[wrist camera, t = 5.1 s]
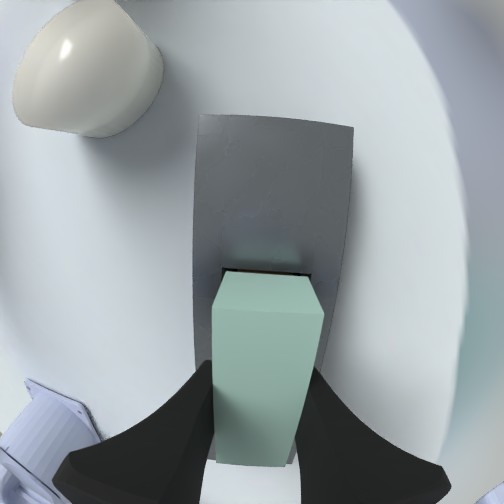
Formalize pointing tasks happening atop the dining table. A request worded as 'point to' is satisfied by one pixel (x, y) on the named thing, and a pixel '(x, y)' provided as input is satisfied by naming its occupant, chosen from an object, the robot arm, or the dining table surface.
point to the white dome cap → (87, 72)
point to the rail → (268, 210)
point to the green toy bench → (261, 363)
